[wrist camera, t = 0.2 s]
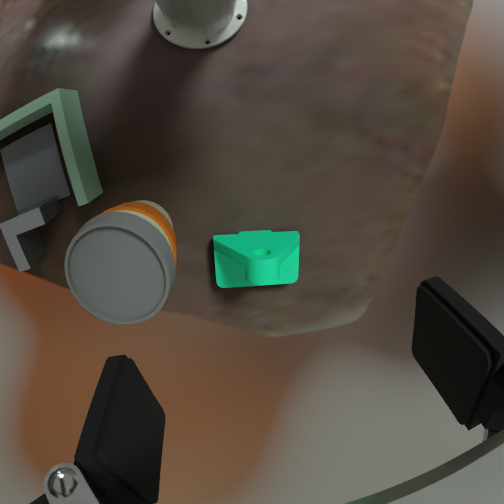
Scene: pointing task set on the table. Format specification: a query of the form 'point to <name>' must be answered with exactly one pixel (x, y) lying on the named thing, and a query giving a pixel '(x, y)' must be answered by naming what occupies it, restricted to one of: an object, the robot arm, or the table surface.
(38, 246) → the bracket
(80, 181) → the corner walls
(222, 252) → the camera mount
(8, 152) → the mat
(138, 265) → the reusable coffee cup
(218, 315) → the table surface
